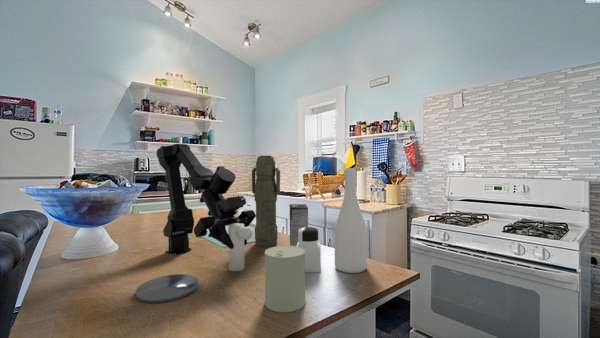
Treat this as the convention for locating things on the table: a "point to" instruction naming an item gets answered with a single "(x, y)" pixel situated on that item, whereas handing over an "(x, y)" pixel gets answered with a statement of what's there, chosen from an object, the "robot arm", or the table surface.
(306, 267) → the medicine bottle
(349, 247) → the wine bottle
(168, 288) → the flange plate
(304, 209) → the coffee box
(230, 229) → the duct elbow
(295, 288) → the can
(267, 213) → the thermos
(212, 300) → the table surface
